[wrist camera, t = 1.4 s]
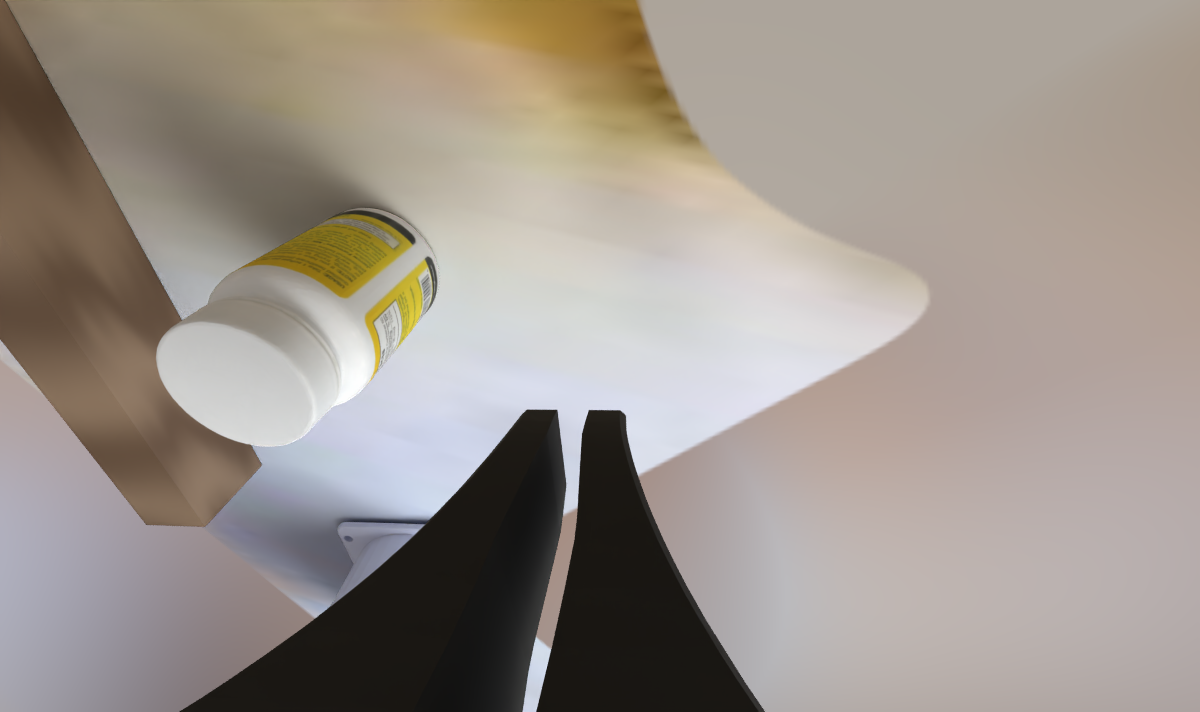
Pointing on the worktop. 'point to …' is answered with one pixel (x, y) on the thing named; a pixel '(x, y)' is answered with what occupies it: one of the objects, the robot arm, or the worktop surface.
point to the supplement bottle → (300, 328)
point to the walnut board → (94, 310)
